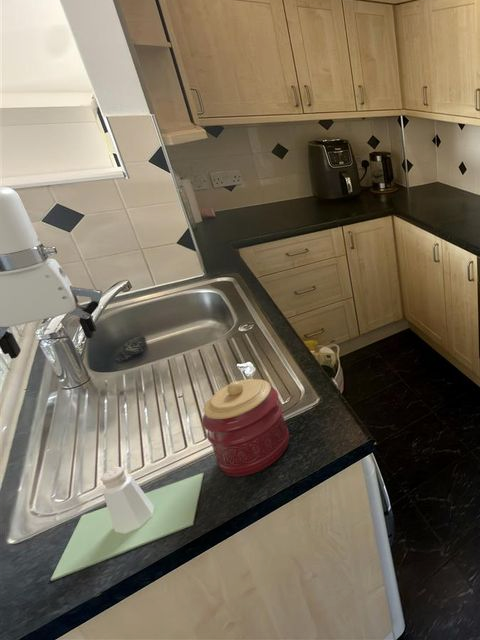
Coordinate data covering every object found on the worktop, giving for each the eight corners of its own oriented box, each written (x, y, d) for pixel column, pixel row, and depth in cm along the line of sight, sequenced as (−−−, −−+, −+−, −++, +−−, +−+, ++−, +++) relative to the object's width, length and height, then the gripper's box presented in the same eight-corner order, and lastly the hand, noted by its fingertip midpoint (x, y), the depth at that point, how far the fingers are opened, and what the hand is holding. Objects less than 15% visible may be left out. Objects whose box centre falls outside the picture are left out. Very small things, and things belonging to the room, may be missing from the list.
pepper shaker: (148, 500, 75) (126, 454, 71) (160, 514, 72) (138, 468, 68) (110, 524, 71) (84, 477, 67) (120, 540, 68) (95, 492, 64)
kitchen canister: (283, 420, 94) (264, 355, 87) (297, 453, 84) (277, 384, 78) (215, 450, 86) (189, 381, 80) (224, 491, 77) (195, 417, 70)
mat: (51, 581, 63) (50, 579, 62) (82, 517, 73) (81, 515, 72) (193, 525, 70) (192, 523, 70) (204, 473, 80) (203, 472, 80)
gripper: (85, 243, 78) (118, 321, 84) (-60, 266, 67) (-11, 354, 73) (81, 253, 72) (116, 336, 78) (-77, 280, 62) (-23, 373, 68)
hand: (54, 344), depth 76 cm, fingers open, 9 cm apart
